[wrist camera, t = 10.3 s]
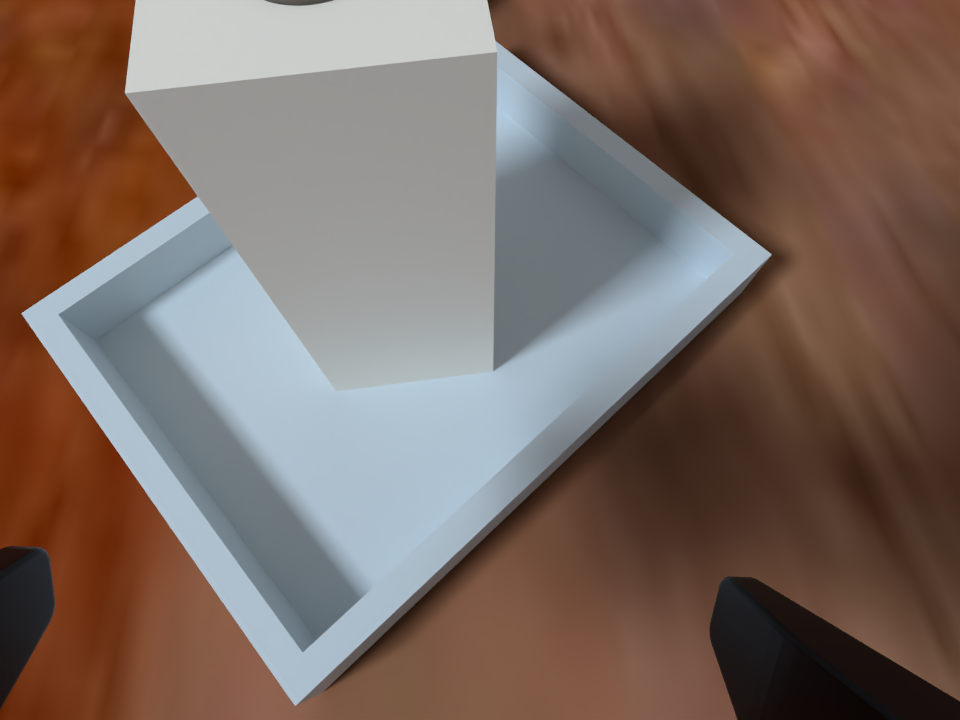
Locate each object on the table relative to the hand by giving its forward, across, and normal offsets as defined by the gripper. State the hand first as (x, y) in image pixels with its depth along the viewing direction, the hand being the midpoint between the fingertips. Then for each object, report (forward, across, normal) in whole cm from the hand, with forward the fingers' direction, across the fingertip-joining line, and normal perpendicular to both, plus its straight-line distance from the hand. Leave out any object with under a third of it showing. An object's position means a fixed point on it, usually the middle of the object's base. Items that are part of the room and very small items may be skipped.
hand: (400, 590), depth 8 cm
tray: (+13, 0, 0) cm, 13 cm away
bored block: (+13, +1, -1) cm, 13 cm away
